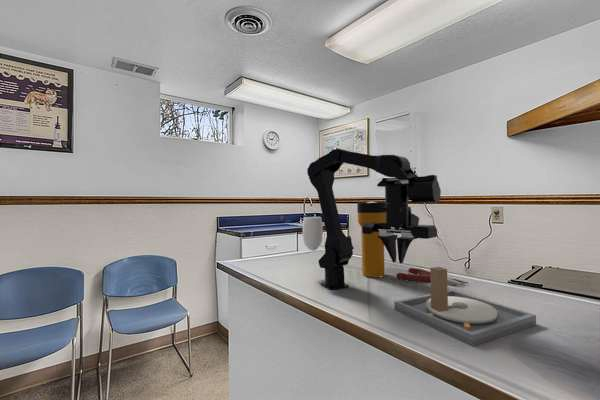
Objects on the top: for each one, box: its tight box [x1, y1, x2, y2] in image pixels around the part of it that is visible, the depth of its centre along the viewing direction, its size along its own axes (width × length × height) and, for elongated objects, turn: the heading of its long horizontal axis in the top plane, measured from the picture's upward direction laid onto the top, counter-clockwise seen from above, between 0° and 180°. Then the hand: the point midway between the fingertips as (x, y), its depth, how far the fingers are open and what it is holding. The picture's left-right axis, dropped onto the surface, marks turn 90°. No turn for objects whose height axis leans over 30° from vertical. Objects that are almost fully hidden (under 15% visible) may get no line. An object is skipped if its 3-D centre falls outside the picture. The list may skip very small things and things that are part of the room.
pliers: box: [396, 267, 469, 287], centre depth 96 cm, size 12×20×3 cm, turn 45°
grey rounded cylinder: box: [302, 216, 324, 251], centre depth 105 cm, size 7×7×21 cm
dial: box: [426, 266, 497, 324], centre depth 67 cm, size 14×14×10 cm
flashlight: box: [356, 201, 386, 278], centre depth 104 cm, size 10×26×10 cm
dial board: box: [393, 289, 537, 347], centre depth 67 cm, size 20×20×2 cm
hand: (397, 262), depth 78 cm, fingers closed
